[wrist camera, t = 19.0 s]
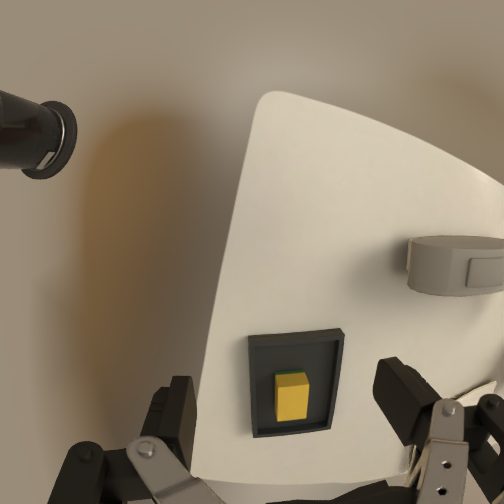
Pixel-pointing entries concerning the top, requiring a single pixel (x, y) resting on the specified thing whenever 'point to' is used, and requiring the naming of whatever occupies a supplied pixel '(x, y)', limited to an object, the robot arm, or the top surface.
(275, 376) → the sponge
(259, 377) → the tray
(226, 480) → the top surface
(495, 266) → the alarm clock
